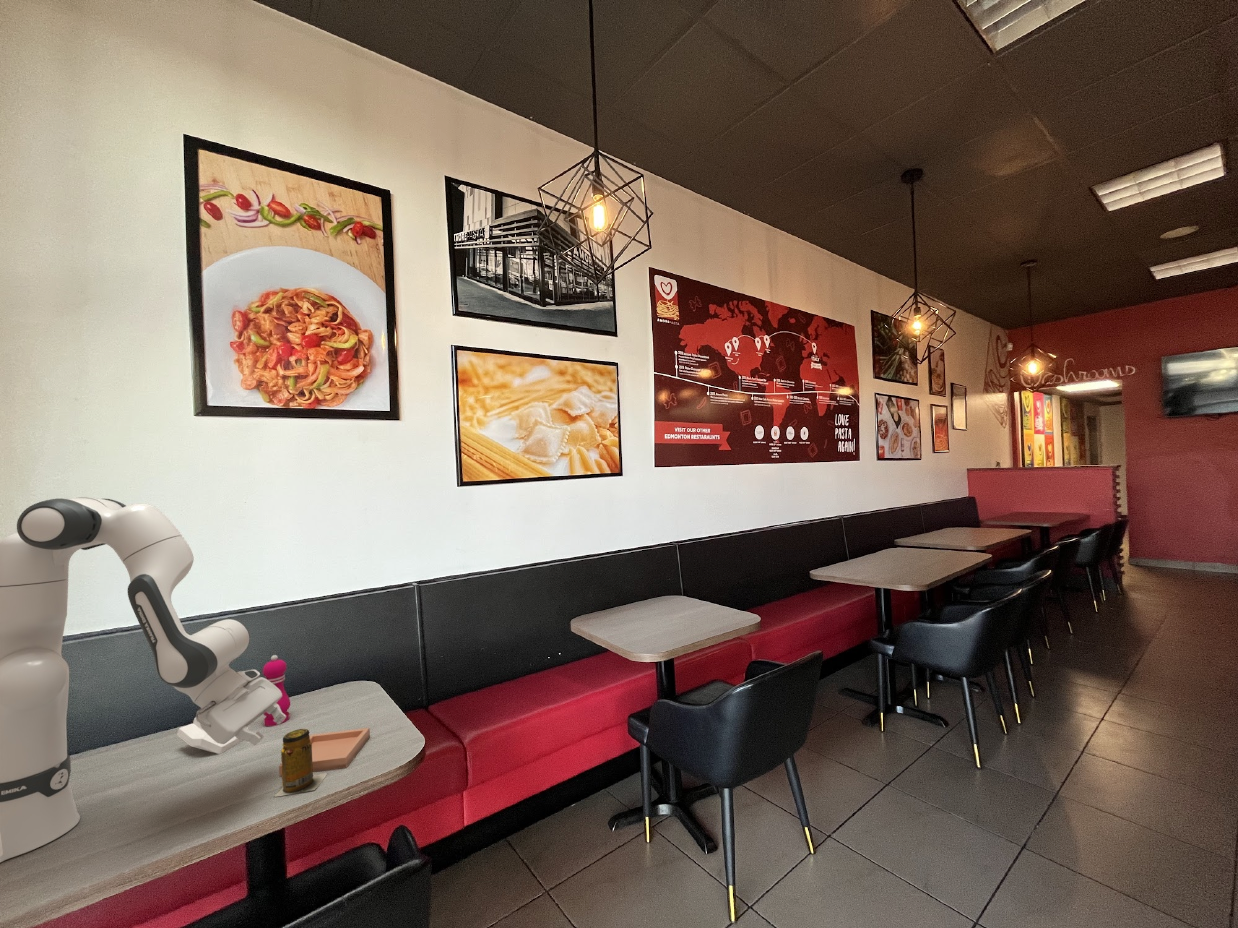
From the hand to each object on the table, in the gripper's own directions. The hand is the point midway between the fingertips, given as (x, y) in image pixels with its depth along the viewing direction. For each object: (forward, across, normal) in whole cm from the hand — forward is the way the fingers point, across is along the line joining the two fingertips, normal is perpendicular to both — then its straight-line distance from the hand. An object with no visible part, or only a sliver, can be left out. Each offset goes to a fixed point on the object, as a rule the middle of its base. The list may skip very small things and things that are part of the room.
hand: (271, 730), depth 118 cm
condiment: (+14, 0, +5) cm, 15 cm away
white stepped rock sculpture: (-12, +26, +31) cm, 42 cm away
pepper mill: (-4, +38, +24) cm, 46 cm away
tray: (+14, +13, +5) cm, 19 cm away
